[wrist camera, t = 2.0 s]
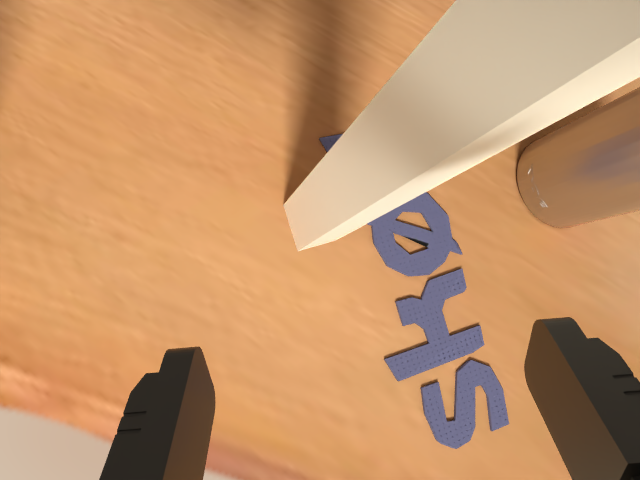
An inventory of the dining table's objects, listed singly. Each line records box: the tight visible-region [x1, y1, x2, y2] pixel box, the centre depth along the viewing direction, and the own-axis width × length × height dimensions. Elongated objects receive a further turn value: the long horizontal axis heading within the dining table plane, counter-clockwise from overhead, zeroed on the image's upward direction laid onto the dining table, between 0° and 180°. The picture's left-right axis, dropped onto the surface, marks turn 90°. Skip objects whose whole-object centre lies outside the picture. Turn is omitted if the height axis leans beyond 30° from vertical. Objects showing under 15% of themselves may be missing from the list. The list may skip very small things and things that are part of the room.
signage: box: [319, 134, 509, 449], centre depth 41 cm, size 28×1×10 cm
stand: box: [283, 0, 640, 251], centre depth 22 cm, size 10×4×35 cm, turn 107°
